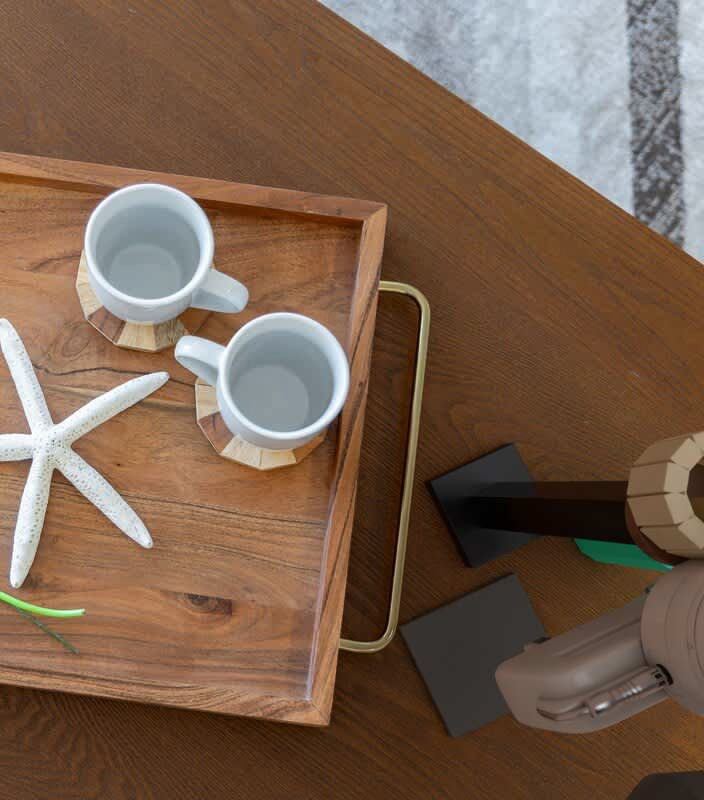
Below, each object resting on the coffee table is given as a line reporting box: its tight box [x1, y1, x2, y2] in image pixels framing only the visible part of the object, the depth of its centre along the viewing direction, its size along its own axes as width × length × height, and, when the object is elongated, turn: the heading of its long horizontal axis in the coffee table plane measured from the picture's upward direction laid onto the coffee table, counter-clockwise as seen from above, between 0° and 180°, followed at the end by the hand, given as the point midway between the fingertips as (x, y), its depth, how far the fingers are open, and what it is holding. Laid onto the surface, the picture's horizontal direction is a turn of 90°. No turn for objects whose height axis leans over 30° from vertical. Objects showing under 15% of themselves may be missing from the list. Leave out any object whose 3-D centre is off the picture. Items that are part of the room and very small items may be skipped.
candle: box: [573, 538, 673, 573], centre depth 69 cm, size 6×6×12 cm
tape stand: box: [423, 442, 704, 570], centre depth 60 cm, size 8×8×31 cm
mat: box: [397, 571, 548, 740], centre depth 74 cm, size 10×11×1 cm
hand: (598, 623), depth 60 cm, fingers open, 8 cm apart
